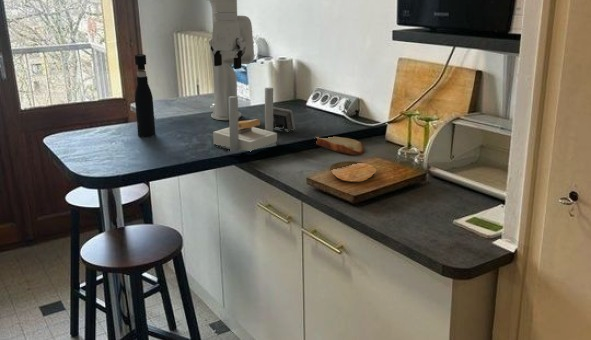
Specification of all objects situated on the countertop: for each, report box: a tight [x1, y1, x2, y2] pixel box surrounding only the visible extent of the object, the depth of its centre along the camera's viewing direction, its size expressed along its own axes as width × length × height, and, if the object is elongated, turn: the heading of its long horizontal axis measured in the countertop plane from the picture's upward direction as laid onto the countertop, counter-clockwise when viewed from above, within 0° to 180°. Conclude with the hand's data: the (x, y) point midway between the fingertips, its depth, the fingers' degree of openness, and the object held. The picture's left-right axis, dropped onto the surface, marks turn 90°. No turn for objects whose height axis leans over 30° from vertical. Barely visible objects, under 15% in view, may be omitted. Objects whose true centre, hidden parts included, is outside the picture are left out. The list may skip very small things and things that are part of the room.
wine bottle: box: [134, 53, 156, 138], centre depth 210 cm, size 6×6×30 cm
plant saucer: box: [328, 160, 364, 172], centre depth 178 cm, size 15×15×3 cm
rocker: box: [238, 118, 261, 129], centre depth 202 cm, size 10×5×2 cm, turn 51°
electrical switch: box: [273, 106, 296, 131], centre depth 221 cm, size 9×5×9 cm, turn 57°
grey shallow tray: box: [212, 126, 278, 152], centre depth 204 cm, size 18×14×6 cm
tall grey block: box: [264, 86, 274, 132], centre depth 206 cm, size 5×5×20 cm
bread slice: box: [315, 135, 365, 156], centre depth 205 cm, size 18×18×4 cm
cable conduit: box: [228, 96, 239, 151], centre depth 193 cm, size 5×5×20 cm
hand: (227, 67), depth 201 cm, fingers open, 9 cm apart
